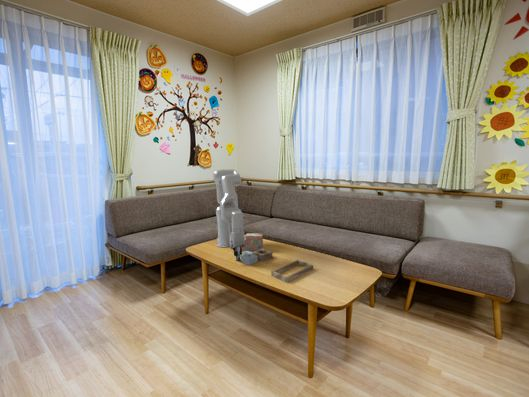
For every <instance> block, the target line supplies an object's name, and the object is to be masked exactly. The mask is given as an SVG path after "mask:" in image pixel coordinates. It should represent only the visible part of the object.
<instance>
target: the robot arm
mask: <svg viewBox="0 0 529 397" xmlns="http://www.w3.org/2000/svg"><path fill="white" fill-rule="evenodd" d="M212 177H213V181H214V184H215V187H216V188H215V189H216V201H217V203H218V204H219V206H217V208H216V209H215V214H216V220H217V238H216V241H217V243H216V247H220V248H227V247H229V249H231V250H233V256H235V258H236V257H238V251H237V247H238V246H240V255H242V252H243V251H242V249H243V246H244V245H245V244H246V243H245V237H246V234H245V231H244V229H245V226H244V214H243V212H242V209H241V208H239V199H238V193H237V191H236V187H238V186H241V185H242V177H241V175H240V173H238V171H237V170H236V169H217V170H215V171H213V175H212ZM227 204H228V205H227ZM229 204H230V205H229ZM230 221H231V223H230Z"/></svg>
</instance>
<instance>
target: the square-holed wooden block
mask: <svg viewBox="0 0 529 397" xmlns="http://www.w3.org/2000/svg"><path fill="white" fill-rule="evenodd" d="M251 252H252V254H254V255H257V256H258V261H261V262H264V261H266V260H267V261H268V260H269V259H272V258H273V251H270V250H268V249H264V248H263V249H260V250H257V251H251Z"/></svg>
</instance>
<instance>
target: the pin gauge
mask: <svg viewBox="0 0 529 397" xmlns="http://www.w3.org/2000/svg"><path fill="white" fill-rule="evenodd" d="M237 251H238V257H236V256H235V261H241V257H240V246H238V247H237Z"/></svg>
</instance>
